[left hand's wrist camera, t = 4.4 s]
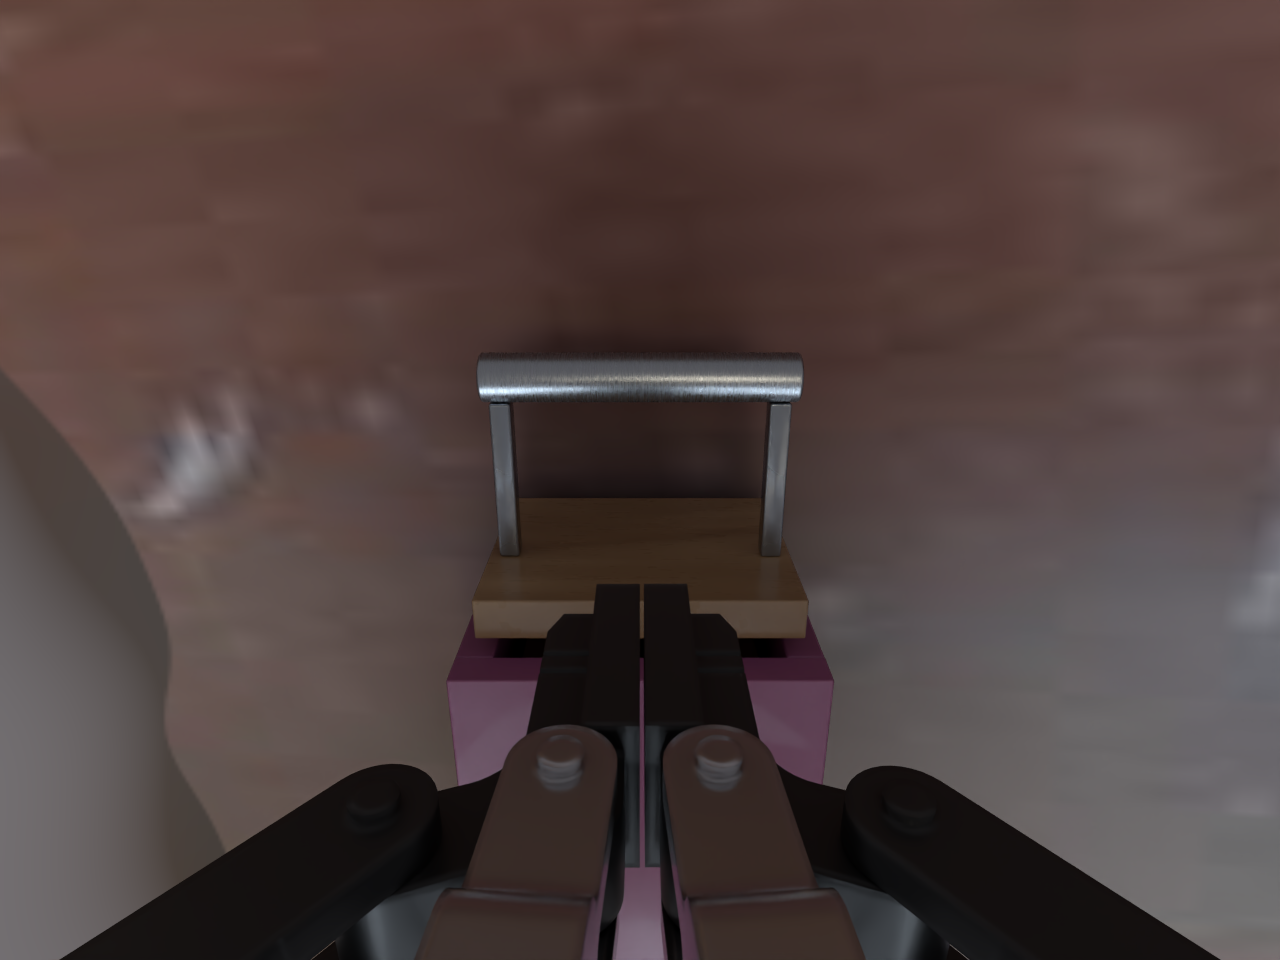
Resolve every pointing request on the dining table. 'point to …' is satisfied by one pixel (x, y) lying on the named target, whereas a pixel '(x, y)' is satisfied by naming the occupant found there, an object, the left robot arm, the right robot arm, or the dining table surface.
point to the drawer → (640, 503)
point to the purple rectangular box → (501, 706)
